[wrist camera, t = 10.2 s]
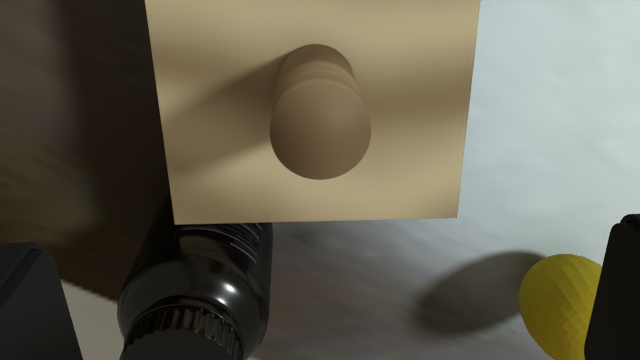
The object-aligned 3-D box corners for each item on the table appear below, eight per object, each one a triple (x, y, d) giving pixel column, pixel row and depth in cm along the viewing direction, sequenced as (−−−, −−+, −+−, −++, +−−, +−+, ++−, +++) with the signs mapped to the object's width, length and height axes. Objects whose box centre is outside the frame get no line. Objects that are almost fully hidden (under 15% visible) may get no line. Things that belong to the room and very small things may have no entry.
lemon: (495, 242, 34) (548, 330, 27) (587, 220, 34) (666, 303, 26) (506, 313, 36) (558, 411, 29) (592, 293, 36) (666, 388, 29)
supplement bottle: (252, 289, 35) (231, 457, 24) (144, 256, 34) (70, 417, 23) (291, 196, 32) (288, 338, 21) (175, 157, 31) (110, 286, 20)
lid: (141, -91, 21) (71, -94, 15) (481, -94, 22) (560, -98, 15) (179, 212, 27) (141, 306, 20) (450, 205, 27) (498, 296, 21)
